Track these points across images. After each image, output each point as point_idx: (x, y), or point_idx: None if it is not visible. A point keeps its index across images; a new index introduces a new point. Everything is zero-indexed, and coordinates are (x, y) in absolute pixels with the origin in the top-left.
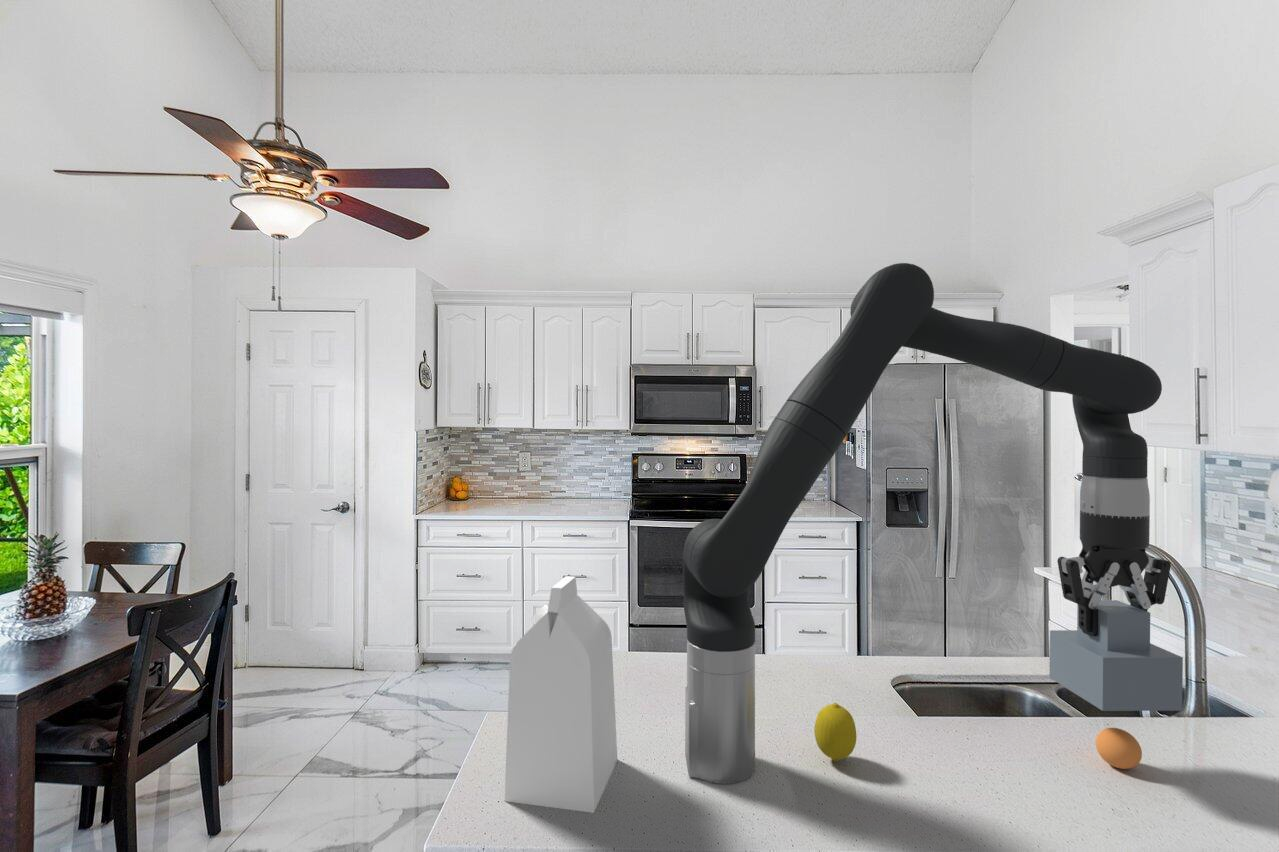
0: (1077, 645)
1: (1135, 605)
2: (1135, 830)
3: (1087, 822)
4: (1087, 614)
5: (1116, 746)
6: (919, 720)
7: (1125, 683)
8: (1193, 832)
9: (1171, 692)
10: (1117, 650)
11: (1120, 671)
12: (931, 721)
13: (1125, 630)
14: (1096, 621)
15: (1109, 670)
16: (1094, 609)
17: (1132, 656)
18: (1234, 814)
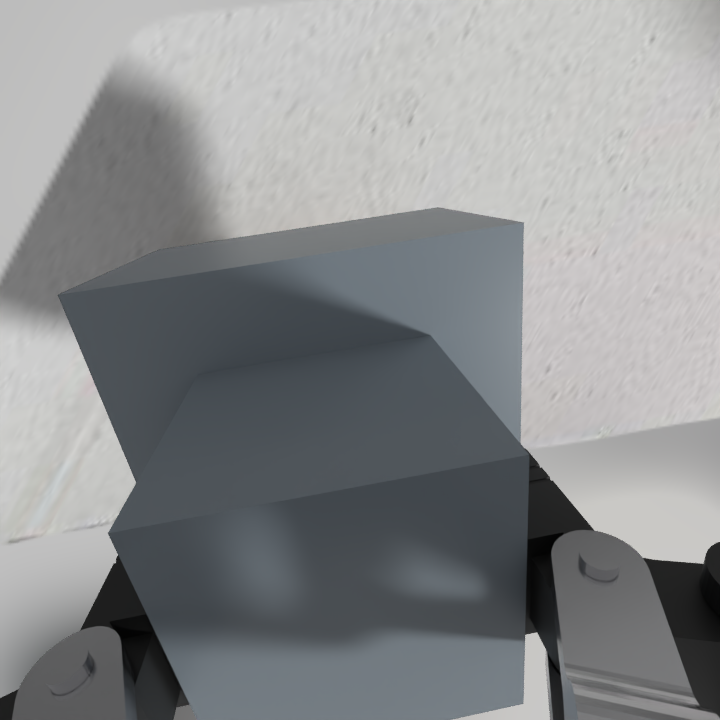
0: (517, 401)
1: (156, 678)
2: (409, 34)
3: (493, 56)
4: (566, 512)
5: None
6: (602, 424)
7: (375, 227)
8: (286, 40)
9: (180, 253)
10: (376, 345)
11: (408, 229)
12: (581, 424)
13: (342, 405)
14: None
15: (462, 222)
16: (544, 545)
17: (346, 268)
18: (150, 132)
